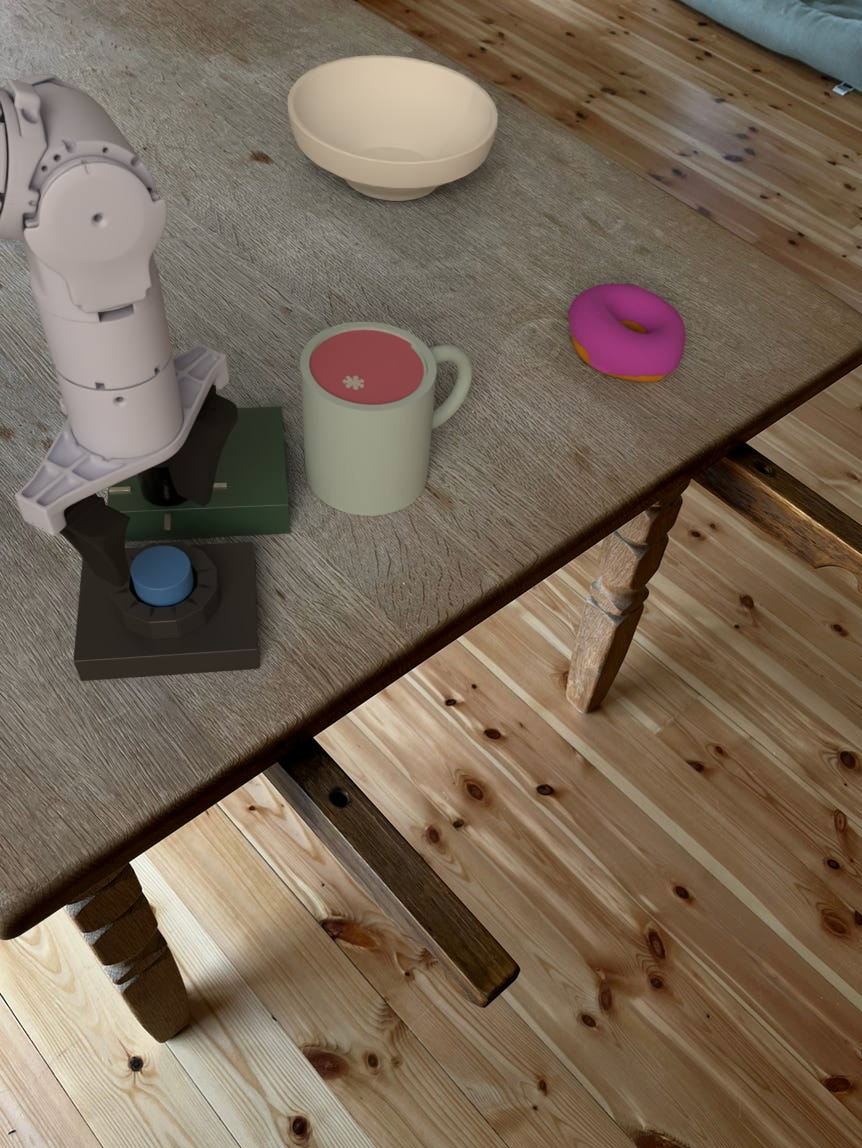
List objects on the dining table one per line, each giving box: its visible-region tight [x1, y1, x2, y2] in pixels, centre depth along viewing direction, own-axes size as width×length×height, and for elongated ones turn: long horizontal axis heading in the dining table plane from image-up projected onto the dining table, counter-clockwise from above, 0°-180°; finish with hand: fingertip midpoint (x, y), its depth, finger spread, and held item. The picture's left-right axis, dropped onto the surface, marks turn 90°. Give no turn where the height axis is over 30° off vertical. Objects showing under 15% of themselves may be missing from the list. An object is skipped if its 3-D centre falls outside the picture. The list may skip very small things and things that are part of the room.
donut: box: [567, 282, 687, 383], centre depth 88 cm, size 10×10×5 cm
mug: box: [299, 321, 473, 517], centre depth 75 cm, size 14×9×10 cm
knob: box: [138, 460, 188, 507], centre depth 70 cm, size 4×4×4 cm
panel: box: [106, 406, 291, 542], centre depth 74 cm, size 12×12×3 cm
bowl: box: [286, 54, 499, 202], centre depth 100 cm, size 20×20×7 cm
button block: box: [73, 541, 260, 682], centre depth 67 cm, size 11×9×4 cm
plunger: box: [131, 545, 194, 606], centre depth 65 cm, size 4×4×2 cm
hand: (154, 536), depth 63 cm, fingers open, 7 cm apart
